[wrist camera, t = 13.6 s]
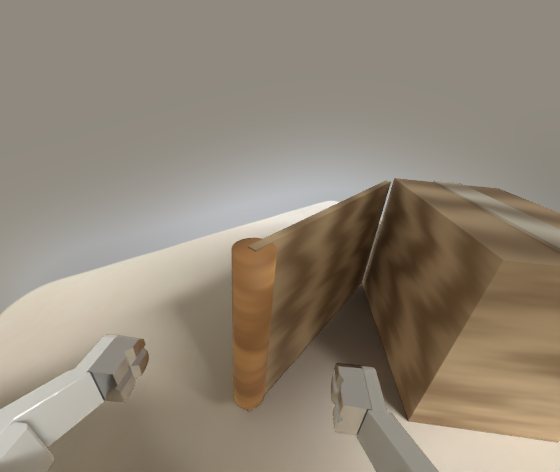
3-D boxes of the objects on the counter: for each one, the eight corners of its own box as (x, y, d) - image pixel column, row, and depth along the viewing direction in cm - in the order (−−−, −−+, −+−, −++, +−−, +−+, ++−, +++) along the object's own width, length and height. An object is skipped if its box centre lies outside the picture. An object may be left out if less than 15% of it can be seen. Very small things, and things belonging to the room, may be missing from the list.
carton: (362, 285, 36) (394, 176, 29) (445, 295, 36) (499, 187, 28) (408, 421, 20) (505, 256, 13) (558, 442, 20) (748, 284, 13)
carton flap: (351, 279, 37) (378, 178, 30) (367, 286, 36) (398, 183, 29) (227, 409, 20) (222, 246, 13) (248, 431, 19) (254, 265, 12)
